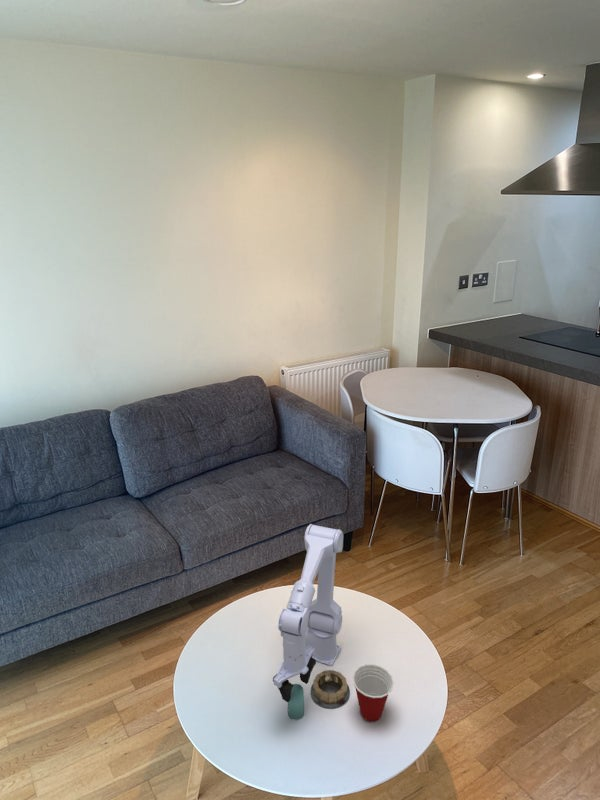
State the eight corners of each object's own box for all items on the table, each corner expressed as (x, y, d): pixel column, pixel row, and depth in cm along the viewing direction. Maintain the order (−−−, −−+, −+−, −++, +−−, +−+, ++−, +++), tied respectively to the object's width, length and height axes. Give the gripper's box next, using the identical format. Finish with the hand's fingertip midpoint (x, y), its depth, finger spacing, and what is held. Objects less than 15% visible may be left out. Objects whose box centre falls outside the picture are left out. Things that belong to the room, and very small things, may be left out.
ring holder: (304, 701, 163) (304, 691, 162) (319, 672, 173) (319, 663, 172) (341, 714, 159) (341, 704, 158) (355, 684, 168) (355, 675, 167)
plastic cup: (383, 737, 152) (384, 701, 148) (345, 720, 157) (345, 685, 153) (398, 706, 161) (399, 672, 157) (361, 691, 166) (362, 657, 162)
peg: (285, 716, 159) (284, 693, 156) (292, 704, 162) (291, 681, 160) (300, 722, 157) (299, 699, 154) (306, 709, 161) (306, 686, 158)
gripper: (288, 674, 145) (289, 716, 149) (323, 640, 155) (323, 680, 160) (266, 661, 149) (268, 702, 154) (302, 629, 159) (303, 668, 164)
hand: (295, 690), depth 157 cm, fingers open, 7 cm apart
